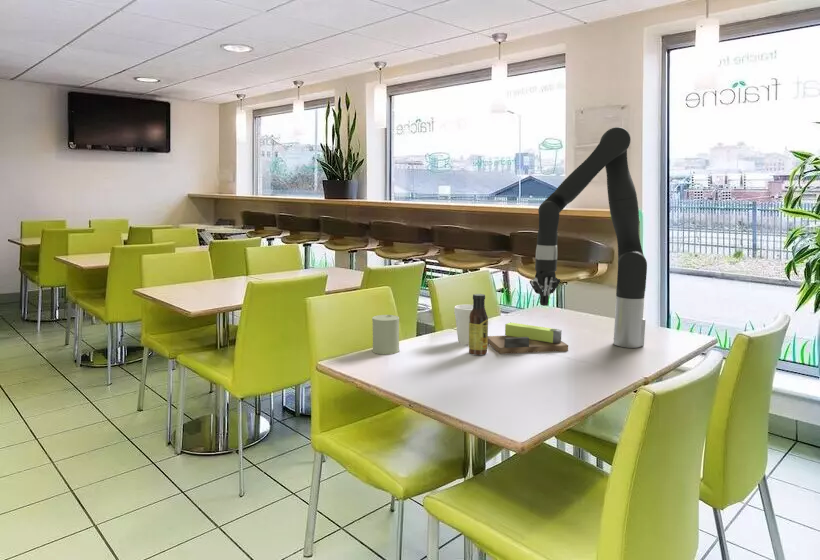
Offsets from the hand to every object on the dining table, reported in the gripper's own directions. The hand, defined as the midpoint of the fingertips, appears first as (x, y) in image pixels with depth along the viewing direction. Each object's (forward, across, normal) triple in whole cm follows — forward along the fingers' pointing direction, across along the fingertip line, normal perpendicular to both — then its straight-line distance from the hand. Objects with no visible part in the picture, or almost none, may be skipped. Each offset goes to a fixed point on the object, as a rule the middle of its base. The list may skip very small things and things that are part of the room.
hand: (543, 305), depth 205 cm
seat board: (+13, +11, +4) cm, 17 cm away
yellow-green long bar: (+11, +7, +3) cm, 13 cm away
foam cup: (+14, +26, -10) cm, 31 cm away
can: (+14, +56, -15) cm, 60 cm away
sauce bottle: (+13, +31, +3) cm, 34 cm away
